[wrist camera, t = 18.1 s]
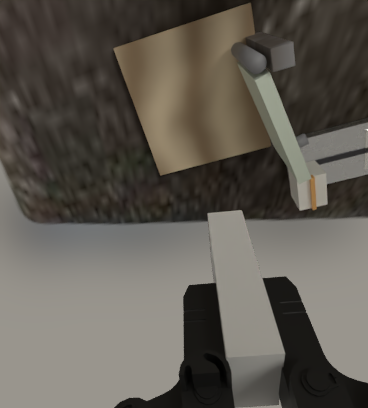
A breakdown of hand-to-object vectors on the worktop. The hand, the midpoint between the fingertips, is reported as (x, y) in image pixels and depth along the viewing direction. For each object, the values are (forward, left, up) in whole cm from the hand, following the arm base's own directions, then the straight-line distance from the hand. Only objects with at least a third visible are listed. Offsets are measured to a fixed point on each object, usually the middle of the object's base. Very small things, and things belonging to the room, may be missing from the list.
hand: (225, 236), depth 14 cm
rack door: (-7, +1, -23) cm, 24 cm away
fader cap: (-9, +11, -23) cm, 27 cm away
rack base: (0, 0, -24) cm, 24 cm away
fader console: (-16, +11, -24) cm, 31 cm away
